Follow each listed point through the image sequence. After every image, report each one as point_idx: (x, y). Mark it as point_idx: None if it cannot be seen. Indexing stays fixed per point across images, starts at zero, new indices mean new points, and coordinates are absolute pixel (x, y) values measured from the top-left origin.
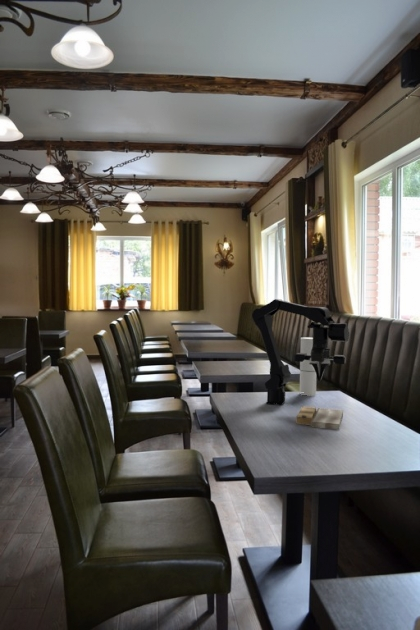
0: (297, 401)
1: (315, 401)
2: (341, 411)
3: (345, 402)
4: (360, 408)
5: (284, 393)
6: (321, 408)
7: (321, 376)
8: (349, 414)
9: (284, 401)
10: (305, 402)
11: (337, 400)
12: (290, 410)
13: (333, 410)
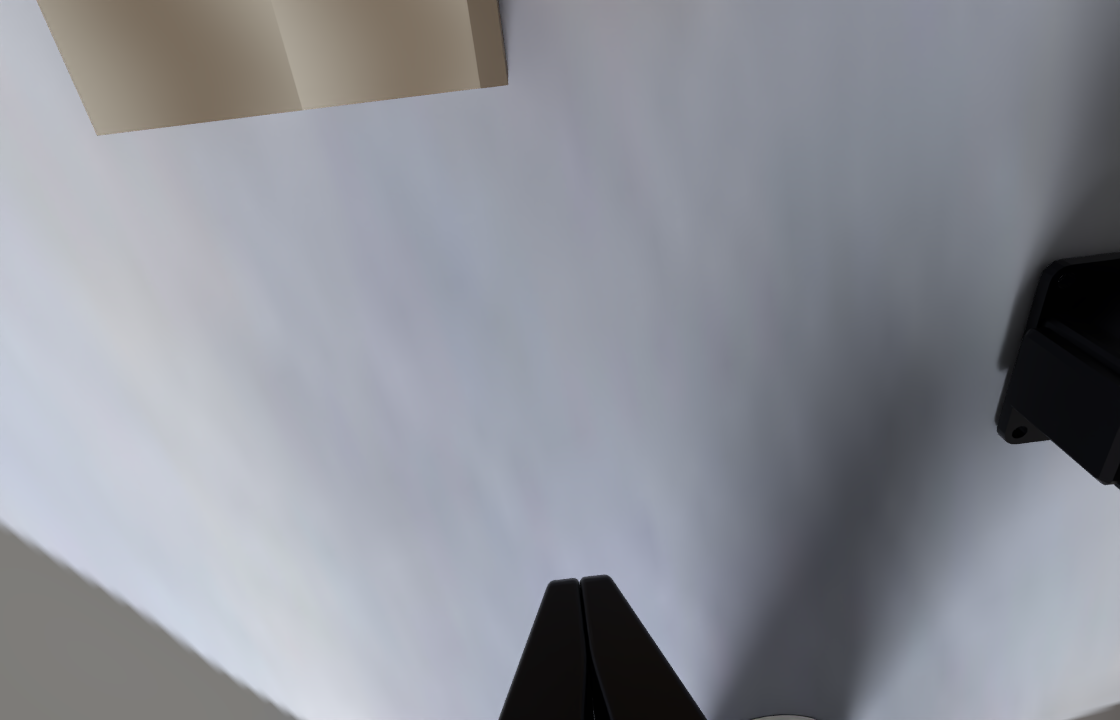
0: (845, 518)
1: (659, 594)
2: (70, 26)
3: (378, 678)
4: (141, 549)
5: (1112, 414)
6: (448, 82)
7: (517, 690)
8: (89, 216)
9: (1022, 361)
10: (755, 517)
11: (470, 705)
12: (927, 15)
13: (217, 30)
